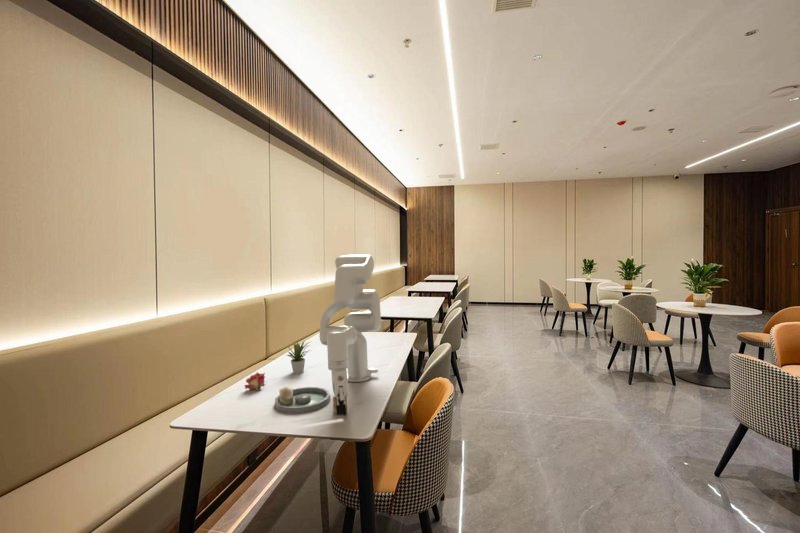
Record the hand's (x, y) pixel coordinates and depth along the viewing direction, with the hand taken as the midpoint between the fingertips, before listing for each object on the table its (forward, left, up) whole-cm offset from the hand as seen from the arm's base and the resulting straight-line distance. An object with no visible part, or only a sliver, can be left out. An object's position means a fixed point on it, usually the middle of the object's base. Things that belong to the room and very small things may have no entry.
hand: (340, 411), depth 133 cm
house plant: (+13, -57, -1) cm, 58 cm away
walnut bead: (0, 0, -1) cm, 1 cm away
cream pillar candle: (+19, -14, 0) cm, 24 cm away
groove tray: (+13, -14, -1) cm, 19 cm away
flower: (+33, -38, -1) cm, 50 cm away
